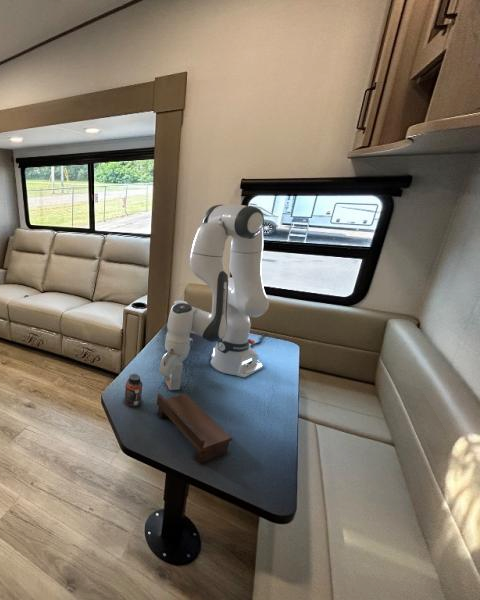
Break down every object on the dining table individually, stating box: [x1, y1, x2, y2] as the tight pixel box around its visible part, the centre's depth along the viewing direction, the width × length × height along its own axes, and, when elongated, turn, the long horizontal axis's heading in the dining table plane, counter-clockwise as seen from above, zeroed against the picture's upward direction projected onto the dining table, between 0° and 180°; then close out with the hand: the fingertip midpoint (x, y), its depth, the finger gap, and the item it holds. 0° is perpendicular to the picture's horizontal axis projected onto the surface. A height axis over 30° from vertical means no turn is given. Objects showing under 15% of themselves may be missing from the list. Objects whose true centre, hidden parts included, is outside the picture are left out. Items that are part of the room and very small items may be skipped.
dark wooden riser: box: [156, 393, 233, 464], centre depth 103 cm, size 12×22×9 cm, turn 21°
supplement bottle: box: [124, 373, 143, 408], centre depth 116 cm, size 6×6×11 cm
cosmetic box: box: [164, 360, 184, 391], centre depth 125 cm, size 6×4×12 cm
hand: (172, 375), depth 126 cm, fingers open, 8 cm apart
